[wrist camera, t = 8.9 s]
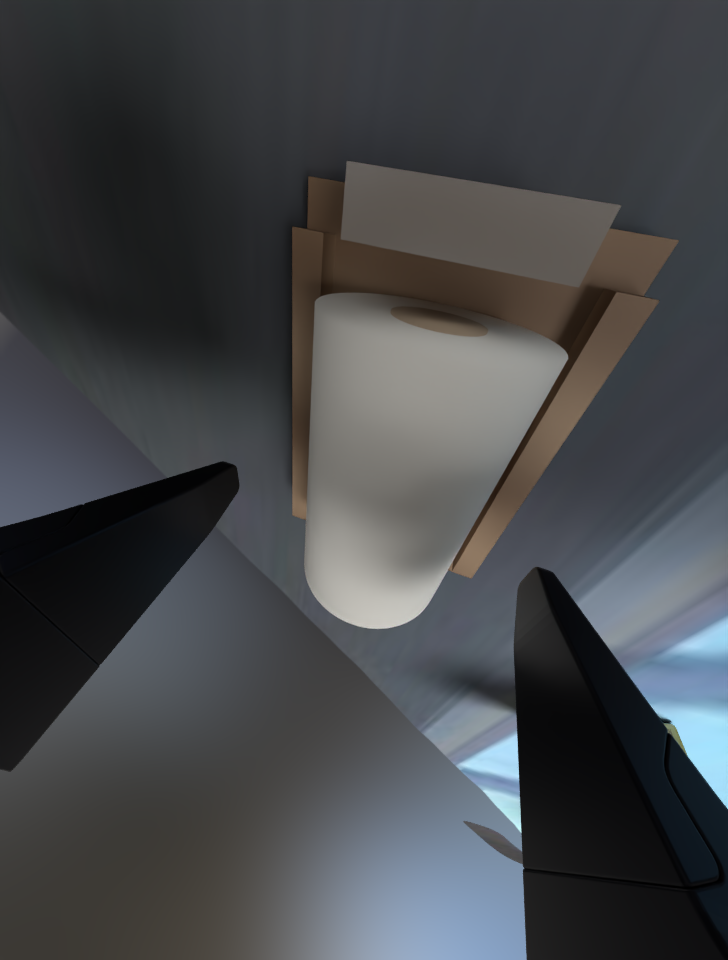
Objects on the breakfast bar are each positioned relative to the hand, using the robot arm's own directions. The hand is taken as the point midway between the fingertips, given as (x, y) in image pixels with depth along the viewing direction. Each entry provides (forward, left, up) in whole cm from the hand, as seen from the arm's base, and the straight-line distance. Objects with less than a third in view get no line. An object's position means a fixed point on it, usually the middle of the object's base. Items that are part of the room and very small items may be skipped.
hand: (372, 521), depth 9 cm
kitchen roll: (0, 0, -5) cm, 5 cm away
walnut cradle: (0, 0, -6) cm, 6 cm away
